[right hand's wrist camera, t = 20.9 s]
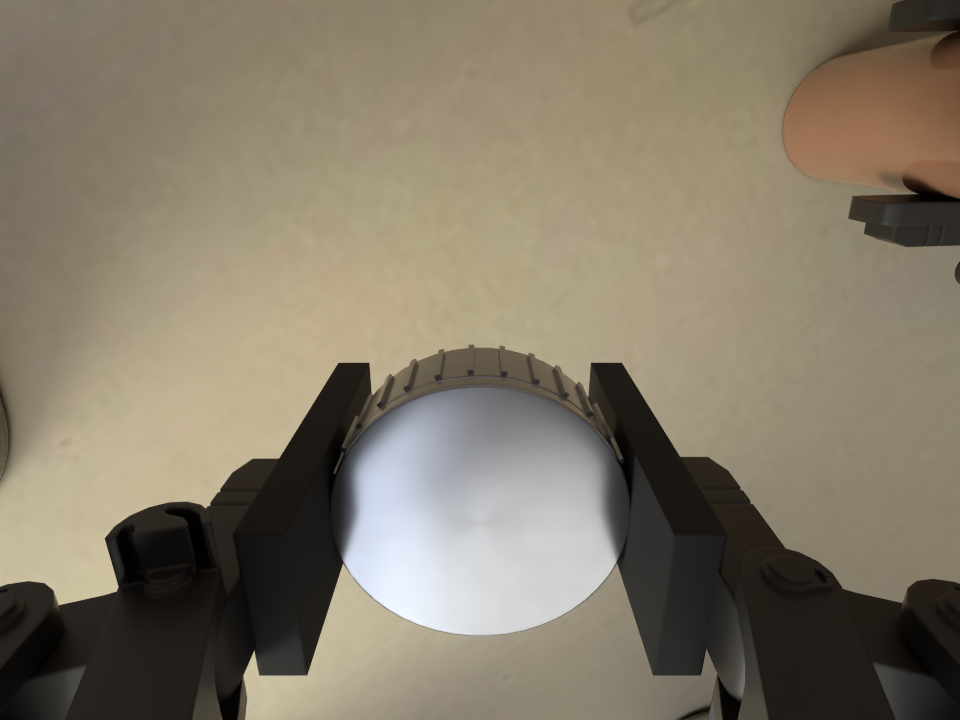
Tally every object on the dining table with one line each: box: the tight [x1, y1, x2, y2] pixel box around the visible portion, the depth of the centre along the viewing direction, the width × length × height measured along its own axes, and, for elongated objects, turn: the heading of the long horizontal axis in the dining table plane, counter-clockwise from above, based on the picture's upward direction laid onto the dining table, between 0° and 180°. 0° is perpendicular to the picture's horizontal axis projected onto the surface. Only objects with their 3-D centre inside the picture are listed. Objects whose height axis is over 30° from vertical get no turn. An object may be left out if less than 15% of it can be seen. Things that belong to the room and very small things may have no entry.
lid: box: [329, 345, 631, 636], centre depth 11 cm, size 6×6×2 cm
